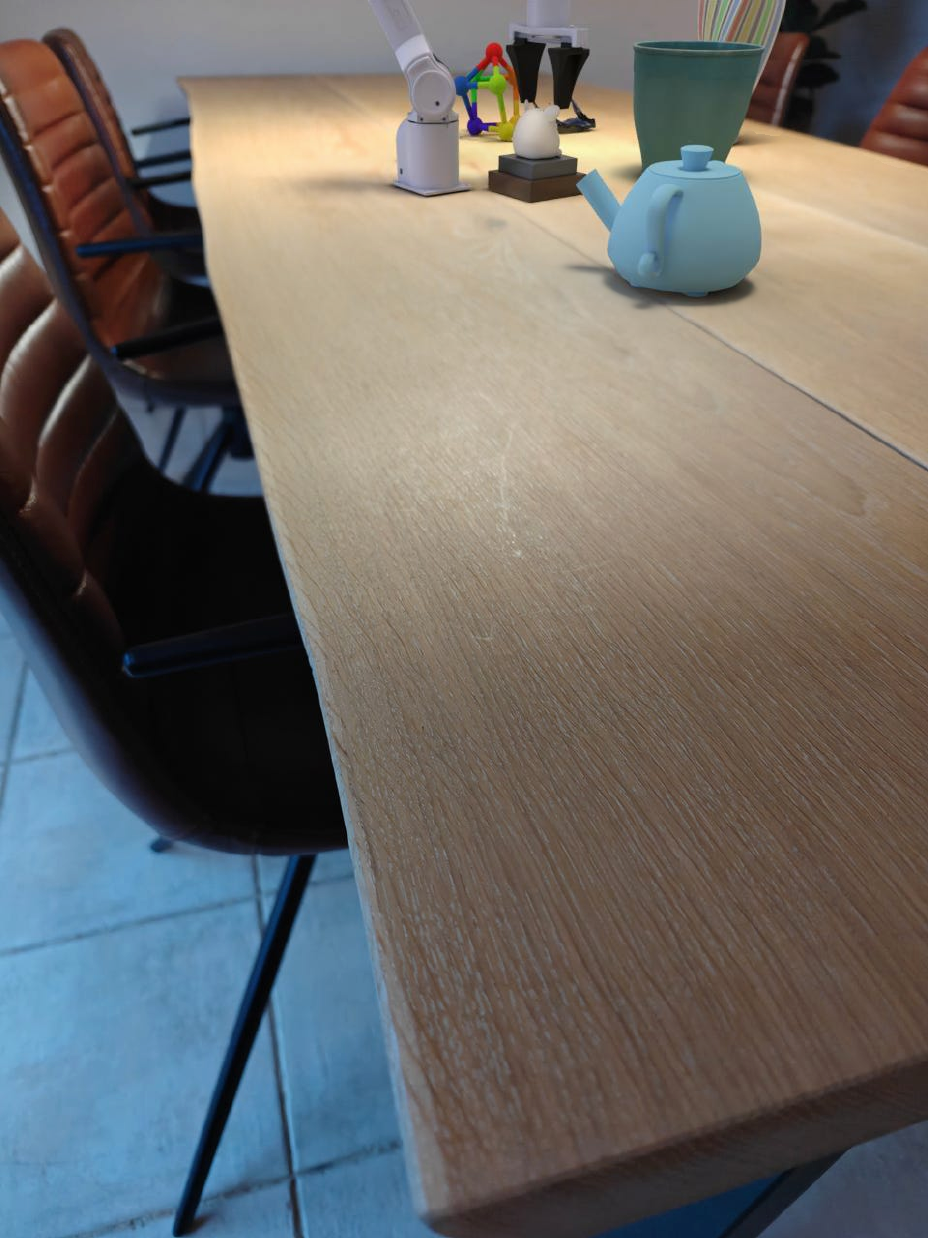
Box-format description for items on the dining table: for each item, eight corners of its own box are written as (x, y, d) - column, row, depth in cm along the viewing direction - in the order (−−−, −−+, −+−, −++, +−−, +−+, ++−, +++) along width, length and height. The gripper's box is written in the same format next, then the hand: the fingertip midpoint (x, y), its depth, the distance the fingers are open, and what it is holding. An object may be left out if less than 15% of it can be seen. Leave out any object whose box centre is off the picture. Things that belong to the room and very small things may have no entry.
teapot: (717, 320, 82) (743, 172, 75) (530, 287, 91) (536, 150, 83) (778, 268, 95) (805, 137, 88) (610, 243, 104) (621, 122, 96)
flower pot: (666, 160, 144) (681, 36, 133) (764, 176, 133) (789, 43, 123) (597, 177, 134) (607, 44, 123) (697, 195, 123) (718, 52, 113)
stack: (487, 189, 127) (488, 154, 124) (542, 181, 132) (543, 147, 129) (530, 202, 120) (531, 166, 118) (585, 193, 125) (588, 158, 122)
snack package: (585, 123, 175) (527, 122, 174) (590, 87, 170) (530, 86, 169) (597, 145, 167) (537, 144, 165) (603, 108, 162) (541, 107, 161)
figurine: (571, 157, 122) (574, 103, 118) (534, 162, 120) (536, 107, 116) (537, 149, 128) (539, 96, 124) (501, 153, 125) (502, 100, 121)
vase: (768, 140, 158) (807, -72, 140) (744, 152, 149) (782, -73, 131) (697, 133, 164) (725, -70, 146) (669, 144, 155) (696, -71, 137)
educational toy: (458, 136, 169) (458, 42, 161) (525, 137, 168) (529, 43, 160) (448, 141, 156) (448, 40, 148) (521, 142, 155) (525, 40, 147)
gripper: (610, -15, 110) (600, 109, 119) (539, -18, 120) (535, 97, 128) (567, -14, 107) (560, 113, 116) (497, -16, 117) (495, 101, 125)
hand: (544, 105), depth 122 cm, fingers open, 7 cm apart
